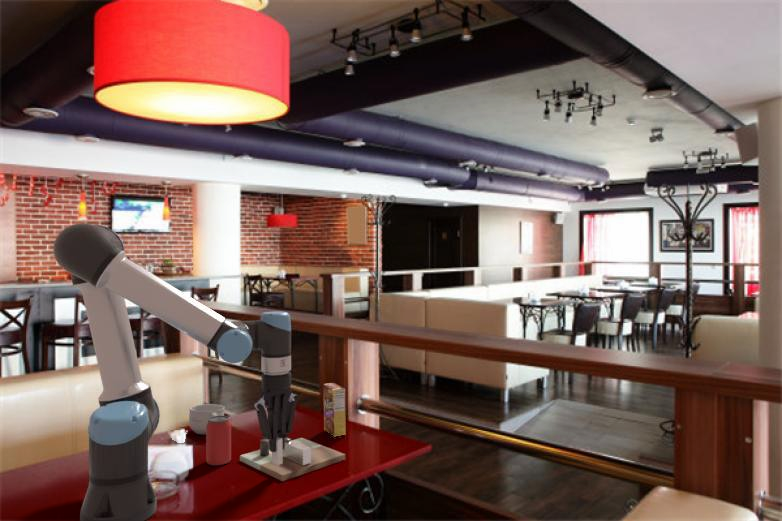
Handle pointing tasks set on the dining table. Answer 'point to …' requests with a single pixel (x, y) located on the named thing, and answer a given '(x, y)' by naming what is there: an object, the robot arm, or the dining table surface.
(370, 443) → the dining table surface
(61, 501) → the dining table surface
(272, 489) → the dining table surface
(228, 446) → the beer can
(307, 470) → the board
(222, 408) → the teacup
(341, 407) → the candy box
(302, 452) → the bar
